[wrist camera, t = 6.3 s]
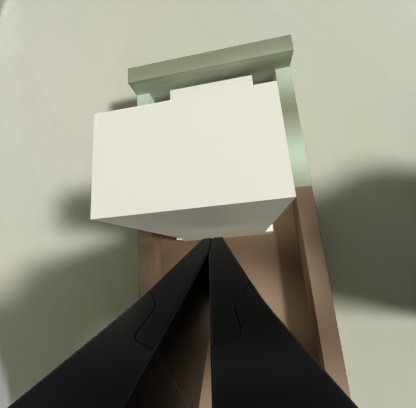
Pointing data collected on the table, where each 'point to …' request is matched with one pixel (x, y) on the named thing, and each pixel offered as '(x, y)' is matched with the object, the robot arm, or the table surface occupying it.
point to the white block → (195, 162)
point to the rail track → (282, 227)
